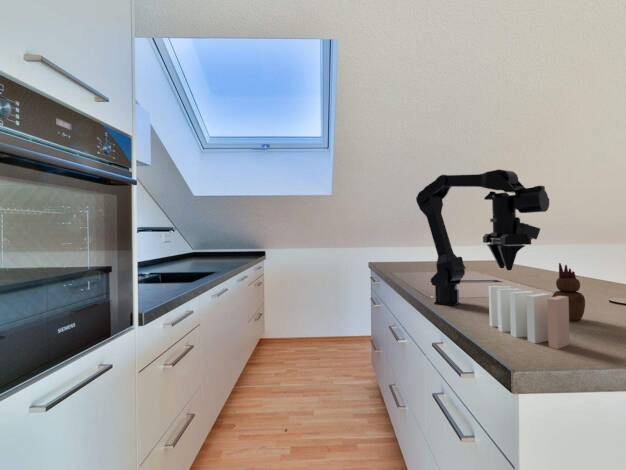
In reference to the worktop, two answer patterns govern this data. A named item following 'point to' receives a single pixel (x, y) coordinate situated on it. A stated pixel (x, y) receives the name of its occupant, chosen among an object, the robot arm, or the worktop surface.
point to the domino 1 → (494, 304)
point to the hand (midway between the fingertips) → (505, 269)
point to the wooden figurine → (570, 293)
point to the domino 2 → (504, 308)
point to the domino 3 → (519, 313)
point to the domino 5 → (558, 322)
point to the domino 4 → (537, 317)
